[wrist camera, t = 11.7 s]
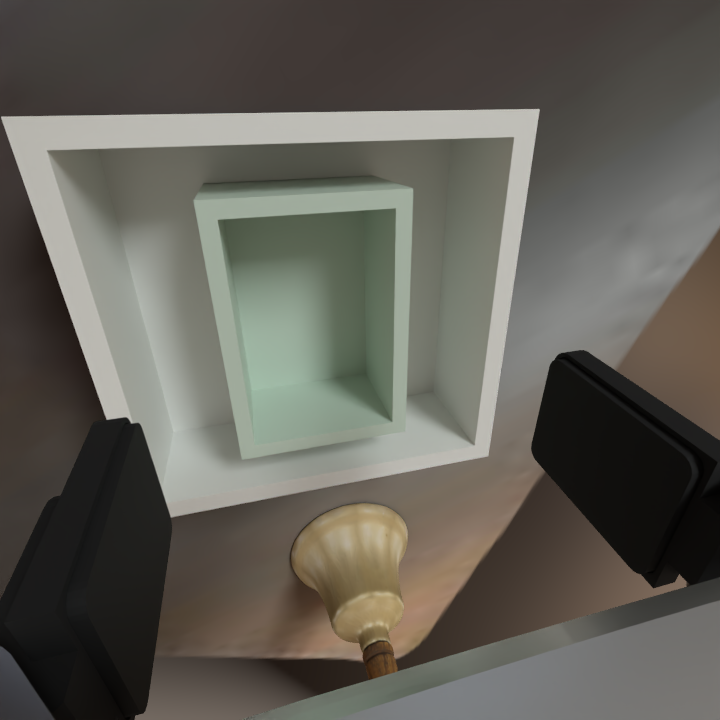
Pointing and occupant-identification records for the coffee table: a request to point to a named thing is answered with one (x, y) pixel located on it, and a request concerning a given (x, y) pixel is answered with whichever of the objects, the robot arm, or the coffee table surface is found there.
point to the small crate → (310, 306)
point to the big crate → (192, 292)
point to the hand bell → (357, 575)
